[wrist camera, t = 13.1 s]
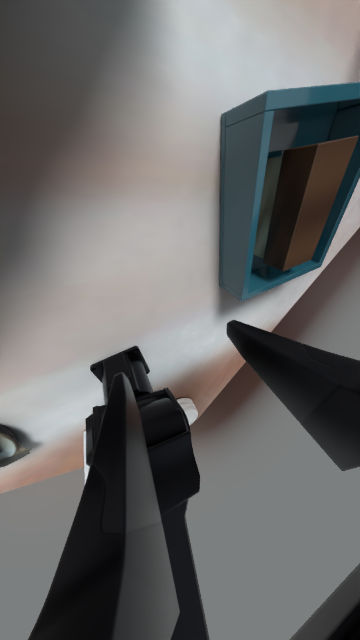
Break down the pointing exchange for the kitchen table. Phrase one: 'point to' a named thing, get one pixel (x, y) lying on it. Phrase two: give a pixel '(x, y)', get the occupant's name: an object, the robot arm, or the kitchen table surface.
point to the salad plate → (10, 448)
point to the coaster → (188, 409)
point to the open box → (250, 165)
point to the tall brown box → (299, 200)
